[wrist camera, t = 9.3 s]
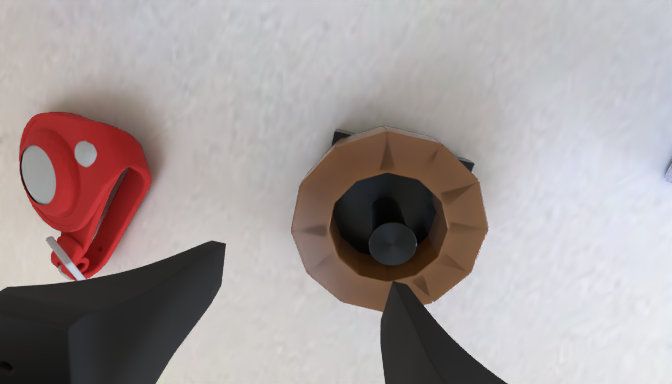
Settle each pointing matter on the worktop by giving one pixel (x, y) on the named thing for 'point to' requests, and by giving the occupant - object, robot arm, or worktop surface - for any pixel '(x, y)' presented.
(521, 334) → the worktop surface
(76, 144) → the tracker holder
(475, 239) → the ring
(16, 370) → the robot arm
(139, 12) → the worktop surface
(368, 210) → the rack
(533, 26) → the worktop surface
